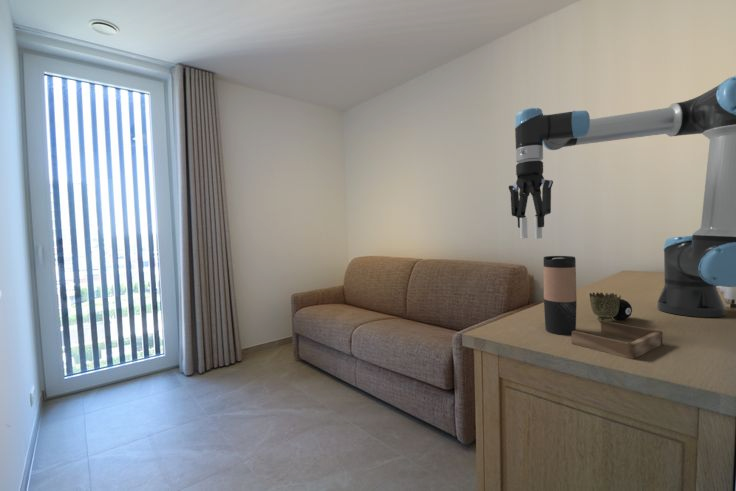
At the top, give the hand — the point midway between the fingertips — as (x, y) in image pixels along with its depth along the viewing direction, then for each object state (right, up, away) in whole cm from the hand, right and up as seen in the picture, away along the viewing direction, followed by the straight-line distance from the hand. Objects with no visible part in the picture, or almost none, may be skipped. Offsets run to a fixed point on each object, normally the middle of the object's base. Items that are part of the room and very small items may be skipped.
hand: (530, 238), depth 106 cm
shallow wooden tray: (+8, -26, -25) cm, 37 cm away
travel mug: (+1, -25, -14) cm, 29 cm away
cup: (+18, -24, -7) cm, 31 cm away
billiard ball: (+24, -24, -5) cm, 34 cm away
